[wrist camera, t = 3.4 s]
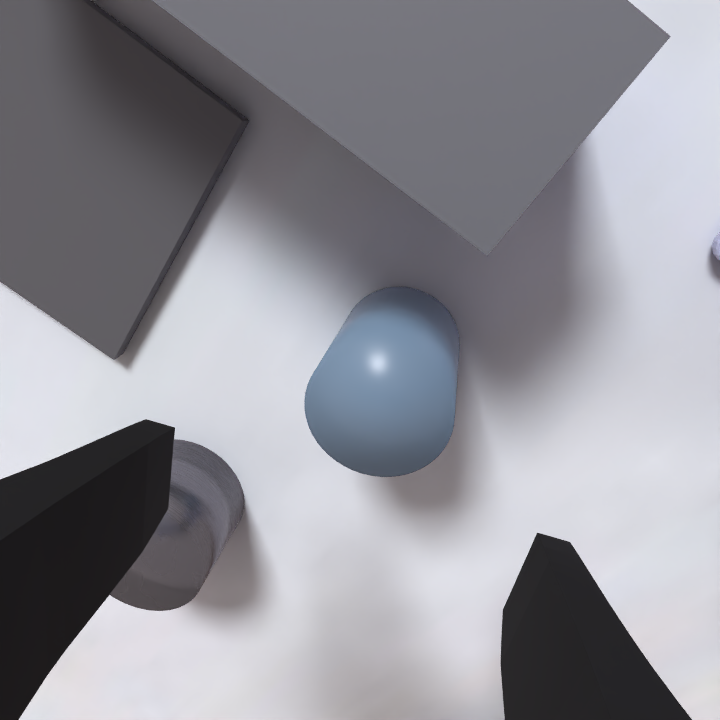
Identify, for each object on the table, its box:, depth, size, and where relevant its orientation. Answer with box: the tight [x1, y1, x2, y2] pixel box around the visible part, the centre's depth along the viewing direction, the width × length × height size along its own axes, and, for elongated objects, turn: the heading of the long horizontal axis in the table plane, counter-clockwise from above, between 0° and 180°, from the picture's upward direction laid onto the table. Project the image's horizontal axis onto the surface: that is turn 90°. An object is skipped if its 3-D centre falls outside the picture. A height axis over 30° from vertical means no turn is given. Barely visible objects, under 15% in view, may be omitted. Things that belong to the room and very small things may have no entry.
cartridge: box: [305, 287, 460, 477], centre depth 17 cm, size 4×4×5 cm
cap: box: [109, 440, 244, 611], centre depth 22 cm, size 5×5×4 cm
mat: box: [0, 0, 249, 360], centre depth 19 cm, size 10×10×1 cm
